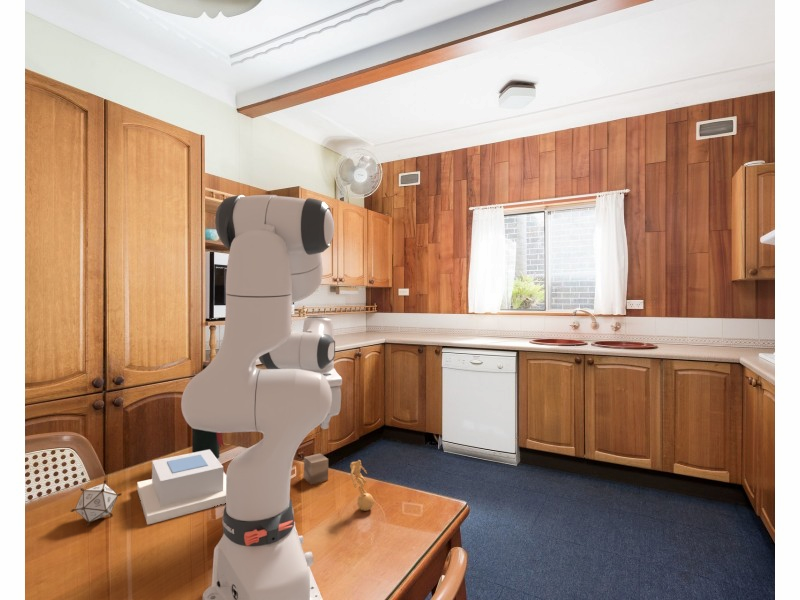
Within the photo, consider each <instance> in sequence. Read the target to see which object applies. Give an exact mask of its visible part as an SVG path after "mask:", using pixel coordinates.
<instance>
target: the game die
mask: <svg viewBox="0 0 800 600" xmlns="http://www.w3.org/2000/svg"><path fill="white" fill-rule="evenodd" d="M106 483H107V479H104V480H103V483H99V484H98V485H94V486H92V487H89V488H86V489H84V488H83V487H80V491H81V494H80V496H79V499H78V501H77V503H76V506H75V508H73V509H71V510H70V512H71V513H73V512H76V513H78V515H80V516H81V517H82V518H83V519H84V521H86V522H87V523H86V527H87V526H88V527H89V526H90V524H91V523H92V522H94V521H97V520H99V519H101V518H104V517H107V516H110V517H114V514H113V513H112V511H113V508H114V506H115V503H116V501H117V499H118V498H119V496H122V495H123V493H122V492H120V493H117V492H116V491H115V490H114V489H112V488H111V487H110V486H109V484H106Z"/></svg>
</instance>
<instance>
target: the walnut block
mask: <svg viewBox="0 0 800 600" xmlns="http://www.w3.org/2000/svg"><path fill="white" fill-rule="evenodd" d="M303 479H304V480H305V479H306V480H305V481H306V482H308V483H309V484H310V485H311V486H312V484H313V485H316V484H319V483H318V482H320V483H323V482H326V480H327V481H329V458H327V457H326V456H324V454H322V453H321V452H320V453H316V454H315V453H314V454H312V455H307V456H303ZM322 481H323V482H322ZM315 483H316V484H315Z"/></svg>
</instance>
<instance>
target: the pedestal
mask: <svg viewBox="0 0 800 600" xmlns="http://www.w3.org/2000/svg"><path fill="white" fill-rule="evenodd" d="M136 483H137V485H136V486H137V487H136V488H137V494H138V496H139V501H140V500H141V501H140V504H141V508H142V510H143V515H144V518H145V521H146V525H147V526H148V525H151V524H152V525H153V524H155V523H158V522H159V523H160V522H163V521H167V520H170V519H175V518H177V517H181V516H184V515H188V514H192V513H195V512H199V511H200V512H201V511H203V510H207V509H210V508H213V507H214V506H215V507H218V506H221V505H220V504H222V505H224V504H225V503H226V473H225V471H224V466H223V465H222V463H221V462H220V461H219V458H218V459H217V458H216V457H215V455H214V454H213V453H212V452H211V450H210V449H209V450H204V451H199V452H194V453H192V452H190V453H183V454H179V455H175V456H170V457H164V458H159V459H154V460H152V461H151V479H146V480H141V481H137V482H136ZM217 505H218V506H217ZM225 505H226V504H225ZM215 507H214V508H215Z"/></svg>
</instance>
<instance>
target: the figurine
mask: <svg viewBox="0 0 800 600" xmlns="http://www.w3.org/2000/svg"><path fill="white" fill-rule="evenodd" d="M349 464H350V465H349V468H350V470H351V471H350V477H351V480H352V483H353V487H354V488H357V487H358V492H359V493H360V495H359V496H357V501H356V502H357V507H358V508H359V509H360V510H361V511H365V512H366V511H367V512H368V511H369V510H371V509H372V507H373V506H374V503H375V502H374V501H375V500H374V496H372V494H371V493H368V491H366V490H365V488H364V486H365V485H366V484H367V480H366V479H365V478H364V476H363V475H362V473H361V471H362V470H363V471H364V473H365V474H368V472H367V470H366V469H365V467H363V466H362V461H361V460H360V459H358V460H357V461H352V462H350V463H349ZM361 469H362V470H361ZM354 476H355V477H354ZM355 481H356V482H355ZM358 484H359V486H358Z"/></svg>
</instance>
